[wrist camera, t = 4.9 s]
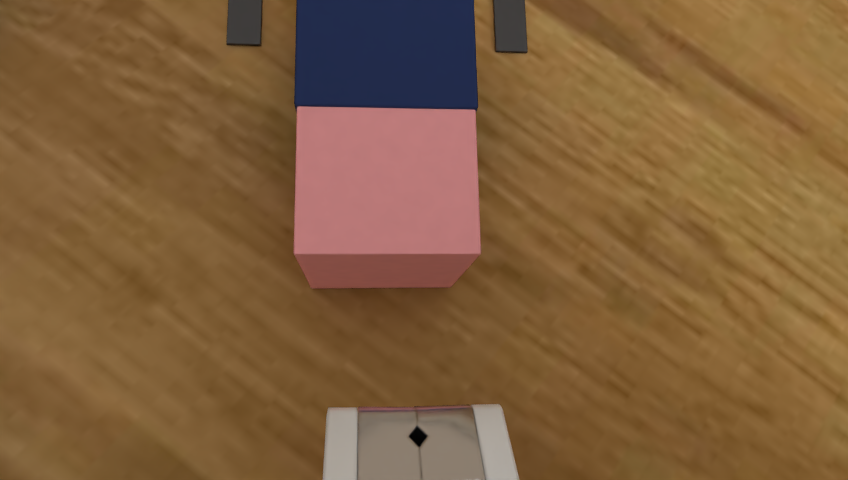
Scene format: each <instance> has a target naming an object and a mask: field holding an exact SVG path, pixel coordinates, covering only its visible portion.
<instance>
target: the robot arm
mask: <svg viewBox="0 0 848 480" xmlns="http://www.w3.org/2000/svg"><path fill="white" fill-rule="evenodd" d="M323 480H519V475H518V471H517V467H516V463H515V459H514V455H513V450H512V446H511V442H510V438H509V434H508V430H507V425H506V421H505V417H504V413H503V409H502V407H501V406H500V405H499V404H479V405H471V406H470V405H442V406H414V407H358V410H357V407H328V411H327V416H326V433H325V450H324V467H323Z"/></svg>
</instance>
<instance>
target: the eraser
mask: <svg viewBox="0 0 848 480" xmlns="http://www.w3.org/2000/svg"><path fill="white" fill-rule="evenodd" d="M294 104H295V108H296V113H297V126H296V171H295V217H294V255H295V257H296V259H297V261H298V263H299V265H300V267H301V269H302V271H303V273H304V275H305V277H306V279H307V281H308V283H309V285H310V287H311V288H441V287H451V286H452V285H453V284H454V283H455V282H456V281H457V280H458V279H459V277H460V276H461V275H462V274H463V273H464V272H465V271H466V270H467V268H468V267H469V266H470V265H471V264H472V263H473V262H474V261H475V260H476V258H477V257H478V256H479V255H480V254H481V239H480V213H479V188H478V162H477V137H476V111H477V108H478V93H477V69H476V44H475V19H474V0H297V9H296V52H295V96H294Z"/></svg>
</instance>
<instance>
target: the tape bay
mask: <svg viewBox="0 0 848 480" xmlns="http://www.w3.org/2000/svg"><path fill="white" fill-rule="evenodd" d="M493 4H494V26H495V47H496V52H516V53H527V35H526V18H525V0H493ZM261 20H262V0H229V2H228V23H227V45H255V46H261Z"/></svg>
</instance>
